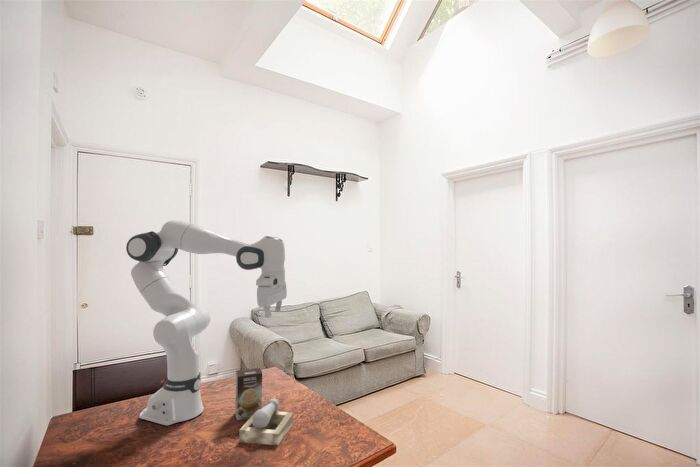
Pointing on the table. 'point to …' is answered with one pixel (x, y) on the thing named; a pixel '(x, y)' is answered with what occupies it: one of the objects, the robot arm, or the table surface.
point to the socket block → (267, 429)
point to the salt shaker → (265, 414)
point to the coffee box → (248, 392)
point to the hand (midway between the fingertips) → (273, 314)
